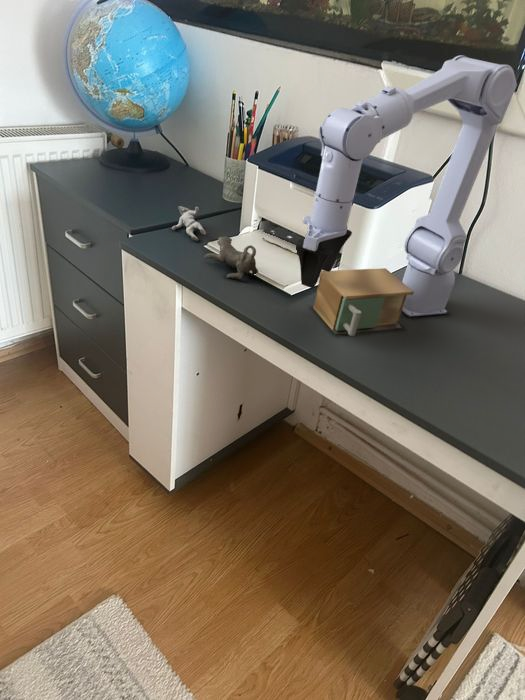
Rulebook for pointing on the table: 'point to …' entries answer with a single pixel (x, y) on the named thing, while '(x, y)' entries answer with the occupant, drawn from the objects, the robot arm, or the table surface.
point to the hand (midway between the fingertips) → (316, 277)
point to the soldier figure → (189, 222)
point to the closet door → (359, 314)
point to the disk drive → (283, 234)
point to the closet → (361, 295)
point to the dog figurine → (235, 258)
